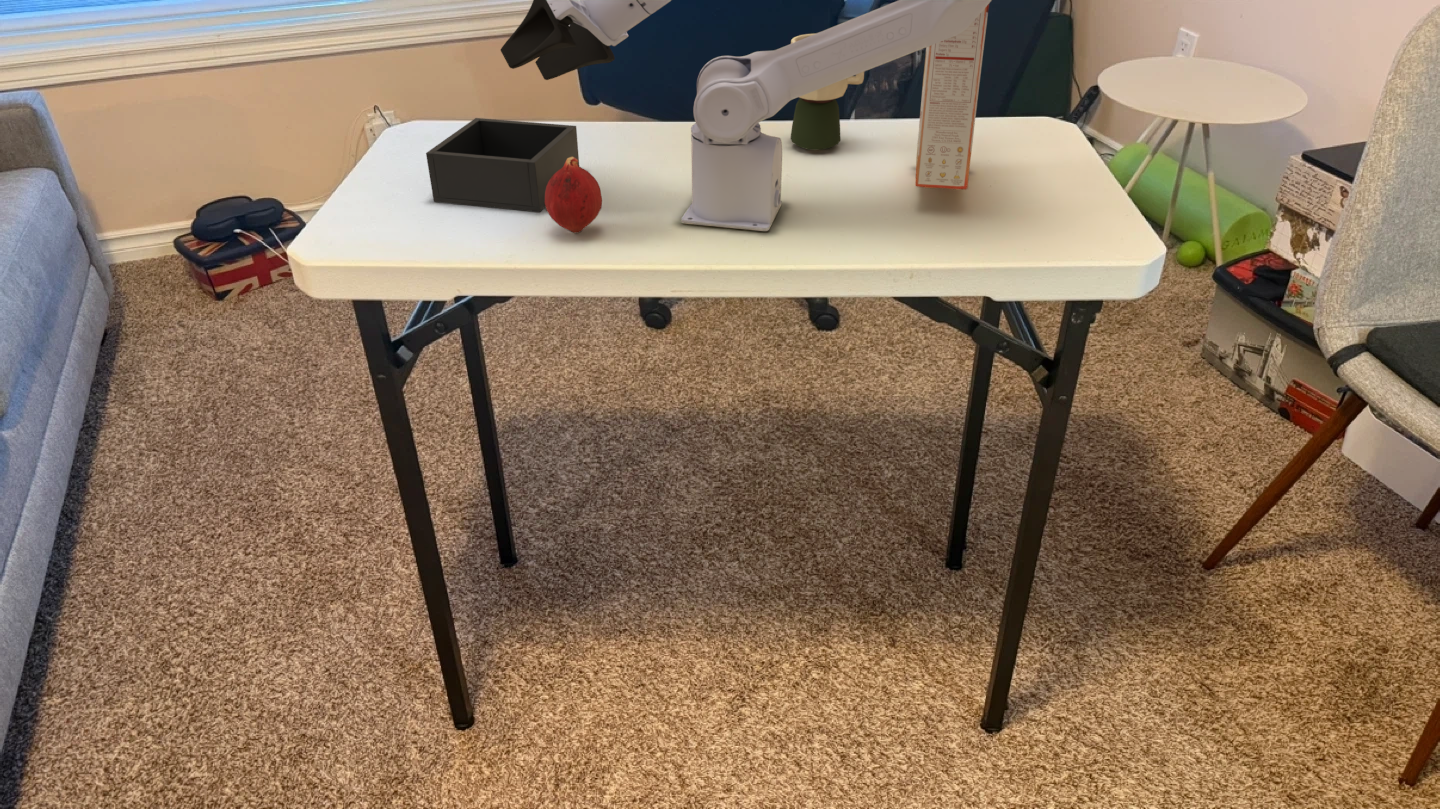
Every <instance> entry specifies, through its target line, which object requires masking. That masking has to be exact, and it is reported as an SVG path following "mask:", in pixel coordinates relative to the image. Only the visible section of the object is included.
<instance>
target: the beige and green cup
mask: <svg viewBox="0 0 1440 809" xmlns="http://www.w3.org/2000/svg"><path fill="white" fill-rule="evenodd" d="M814 34H815V33H805V34H799V35H797V36H794V37H792V39H791V40H790V44H792V43H794V42H797V41H799V40H802V39H804V38H807V37H809V36H812V35H814ZM864 80H865V71H864V72H862V73H859V74H856V75H854V76H851V77H849V78H846V79H844V80H841V81H838V82H836V83H833V84H831V85H828V86H826V87H823V88H820V89H818V90H815V91H813V92H810V93H808V94H805V95H803V96H800V97H798V99H797V102H796V104H795V108H794V114H793V119H792V123H791V131H790V138H789V139H790V141H791V143H792V144H794V145H795V146H797V147H799V148H802V149H806V150H813V151H821V150H826V149H827V150H828V149H831V148H833V147H836V146H837V145H839V143H840V142H841V121H840V120H841V119H840V107H839V104H838V101H837V100H836V99H839V98H842V97H844V95H845V93H846V90H847V89H848V86H849V85H861V84H863V83H864Z"/></svg>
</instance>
